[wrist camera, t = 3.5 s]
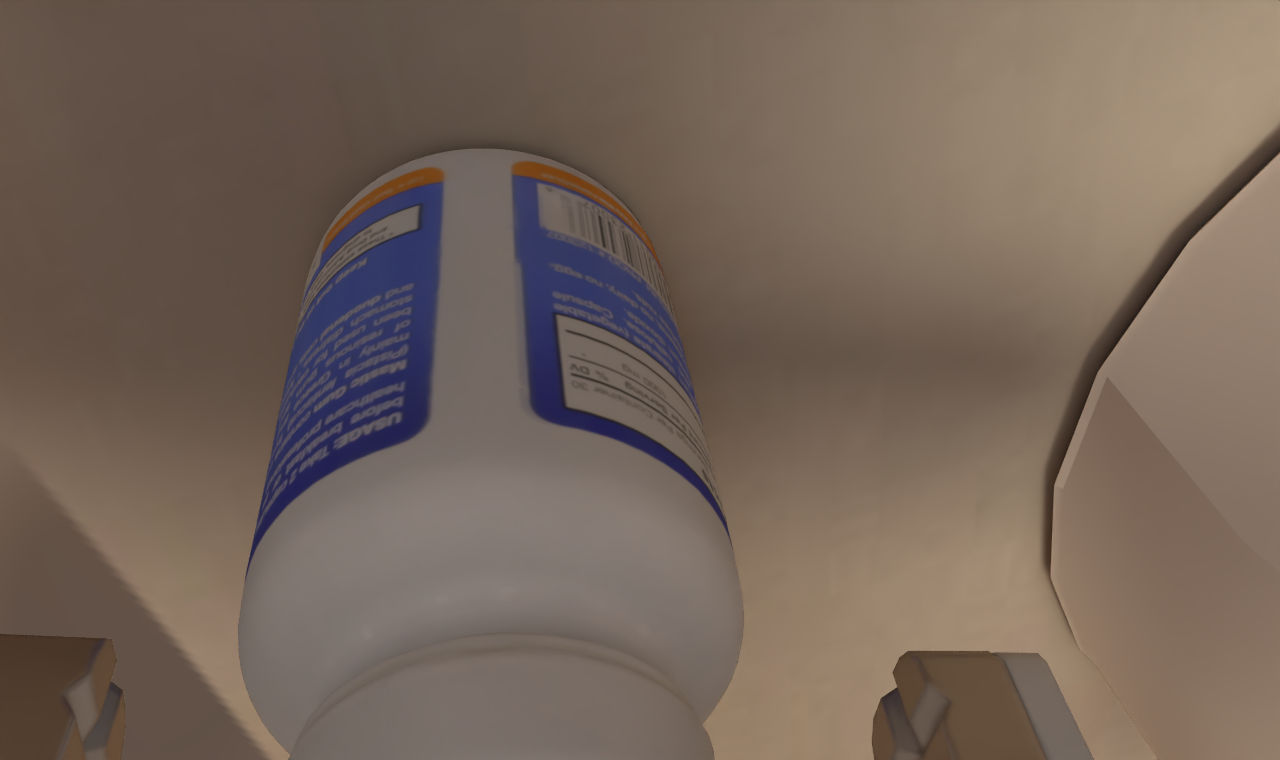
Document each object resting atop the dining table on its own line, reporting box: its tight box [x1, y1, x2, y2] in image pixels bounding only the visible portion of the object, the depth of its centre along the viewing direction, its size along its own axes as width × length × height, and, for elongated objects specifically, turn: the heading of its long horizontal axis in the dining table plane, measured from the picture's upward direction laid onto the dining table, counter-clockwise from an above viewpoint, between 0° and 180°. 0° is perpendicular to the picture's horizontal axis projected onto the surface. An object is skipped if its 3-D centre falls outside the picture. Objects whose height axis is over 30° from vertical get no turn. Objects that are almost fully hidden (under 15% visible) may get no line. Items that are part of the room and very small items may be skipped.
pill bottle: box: [238, 149, 744, 760], centre depth 14 cm, size 5×5×10 cm
